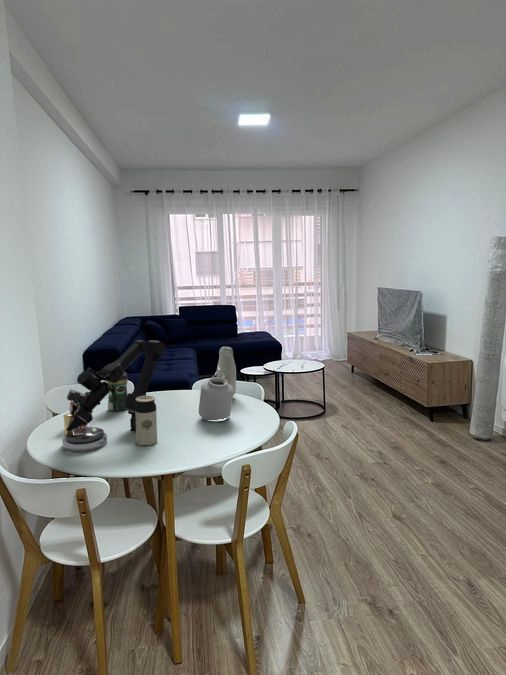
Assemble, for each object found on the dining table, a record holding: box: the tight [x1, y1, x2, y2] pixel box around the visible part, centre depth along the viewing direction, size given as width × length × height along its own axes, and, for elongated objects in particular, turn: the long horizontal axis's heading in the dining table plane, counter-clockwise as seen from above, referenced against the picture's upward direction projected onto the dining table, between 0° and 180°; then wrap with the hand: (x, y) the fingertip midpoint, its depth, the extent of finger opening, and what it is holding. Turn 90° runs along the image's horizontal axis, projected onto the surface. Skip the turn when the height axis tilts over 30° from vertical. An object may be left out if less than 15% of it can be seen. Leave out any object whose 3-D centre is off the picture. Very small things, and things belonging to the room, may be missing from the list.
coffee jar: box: [106, 371, 129, 412], centre depth 214 cm, size 10×8×19 cm
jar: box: [198, 369, 234, 421], centre depth 198 cm, size 19×15×25 cm
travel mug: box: [135, 395, 158, 446], centre depth 171 cm, size 8×8×18 cm
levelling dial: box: [63, 413, 105, 444], centre depth 169 cm, size 14×14×10 cm
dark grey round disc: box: [62, 432, 108, 454], centre depth 170 cm, size 16×16×3 cm
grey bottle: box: [216, 346, 237, 396], centre depth 234 cm, size 10×10×28 cm
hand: (66, 426), depth 166 cm, fingers open, 9 cm apart
